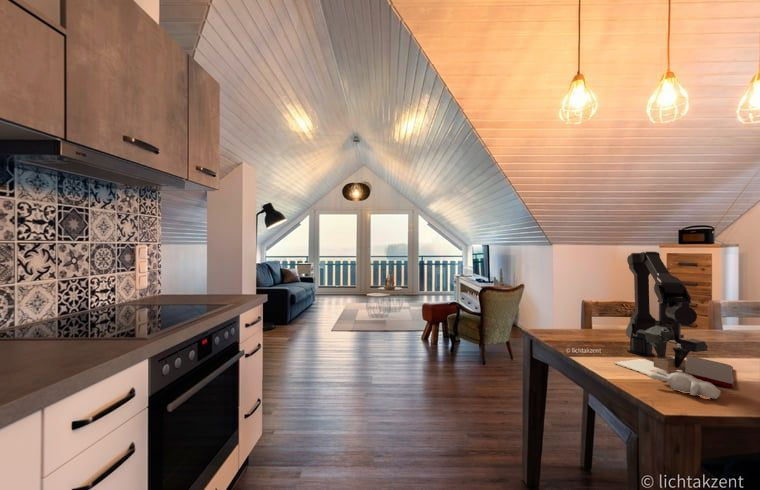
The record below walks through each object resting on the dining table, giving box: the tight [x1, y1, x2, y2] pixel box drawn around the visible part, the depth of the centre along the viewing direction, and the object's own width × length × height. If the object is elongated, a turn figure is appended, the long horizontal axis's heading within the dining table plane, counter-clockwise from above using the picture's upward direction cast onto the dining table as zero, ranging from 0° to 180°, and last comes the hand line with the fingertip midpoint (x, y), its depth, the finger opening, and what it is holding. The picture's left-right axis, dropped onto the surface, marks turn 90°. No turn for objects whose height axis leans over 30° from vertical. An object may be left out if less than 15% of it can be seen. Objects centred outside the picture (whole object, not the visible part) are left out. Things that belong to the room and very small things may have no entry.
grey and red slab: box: [681, 355, 735, 388], centre depth 120 cm, size 12×2×25 cm
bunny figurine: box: [649, 370, 721, 400], centre depth 106 cm, size 10×5×15 cm
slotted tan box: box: [653, 355, 687, 371], centre depth 119 cm, size 8×4×3 cm, turn 106°
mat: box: [613, 358, 682, 376], centre depth 123 cm, size 17×14×1 cm
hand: (669, 365), depth 119 cm, fingers closed on slotted tan box, 4 cm apart
